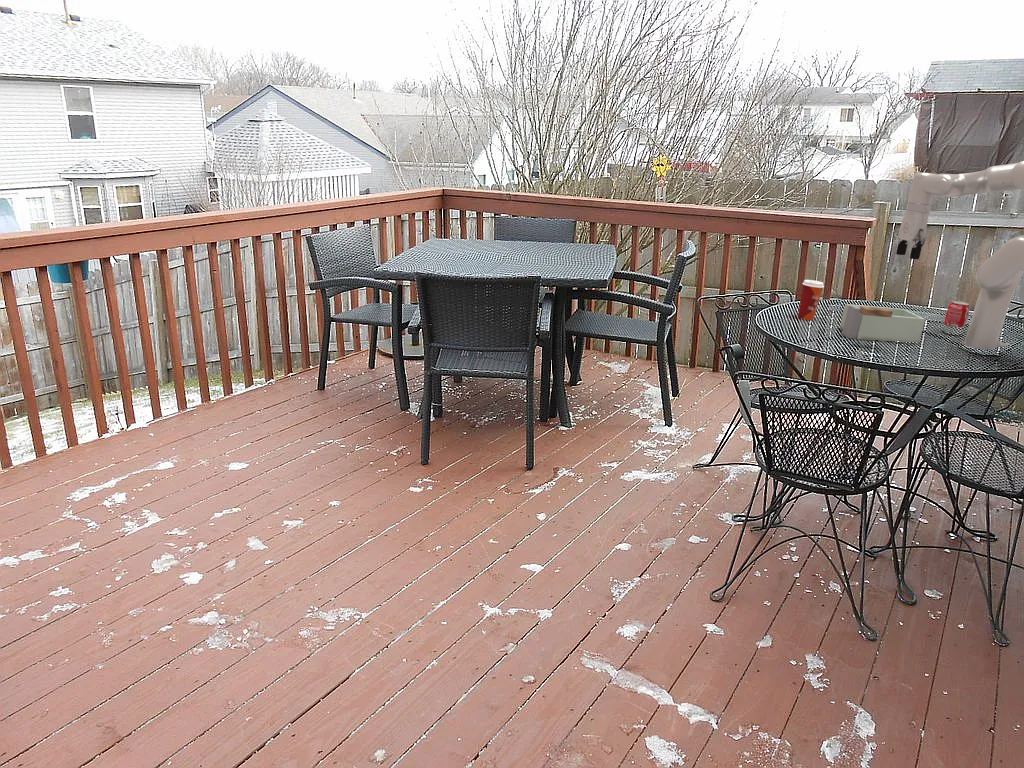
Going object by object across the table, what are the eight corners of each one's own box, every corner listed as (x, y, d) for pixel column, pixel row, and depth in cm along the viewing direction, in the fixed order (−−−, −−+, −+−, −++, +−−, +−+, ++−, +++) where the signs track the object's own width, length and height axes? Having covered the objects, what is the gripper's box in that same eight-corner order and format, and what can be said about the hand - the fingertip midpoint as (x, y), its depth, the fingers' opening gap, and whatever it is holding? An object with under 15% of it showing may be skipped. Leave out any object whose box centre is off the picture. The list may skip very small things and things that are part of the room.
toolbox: (898, 333, 280) (905, 305, 277) (918, 344, 267) (926, 314, 263) (831, 327, 279) (838, 299, 275) (848, 338, 265) (855, 308, 262)
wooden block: (885, 314, 257) (886, 308, 256) (891, 317, 253) (892, 311, 253) (859, 312, 257) (860, 306, 256) (864, 315, 253) (866, 309, 252)
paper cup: (812, 322, 284) (821, 284, 279) (792, 317, 288) (800, 280, 284) (819, 319, 290) (827, 282, 285) (798, 314, 294) (806, 278, 290)
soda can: (957, 332, 290) (966, 301, 286) (965, 337, 284) (975, 305, 280) (937, 330, 291) (946, 299, 287) (945, 335, 284) (955, 303, 280)
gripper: (895, 205, 282) (885, 252, 287) (920, 210, 265) (909, 259, 270) (915, 207, 282) (905, 253, 287) (941, 211, 265) (930, 261, 271)
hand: (907, 256), depth 279 cm, fingers open, 9 cm apart
